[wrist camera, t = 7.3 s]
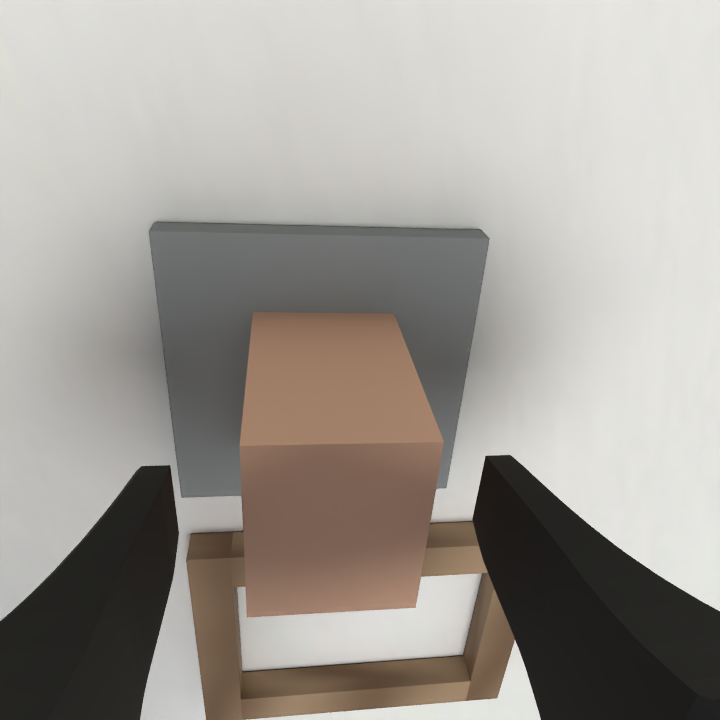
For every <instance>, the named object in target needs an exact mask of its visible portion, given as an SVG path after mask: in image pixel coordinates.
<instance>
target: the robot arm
mask: <svg viewBox="0 0 720 720" xmlns="http://www.w3.org/2000/svg"><path fill="white" fill-rule="evenodd" d="M473 524H474V528H475V532H476V536H477V540H478V544H479V548H480V551H481V555H482V559H483V562H484V564H485V567H486V569H487V572H488V574H489V577H490V579H491V582H492V584H493V587H494V589H495V592H496V594H497V597H498V599H499V601H500V604H501V606H502V609H503V611H504V614H505V616H506V618H507V621H508V623H509V626H510V628H511V631H512V633H513V636H514V638H515V640H516V643H517V645H518V648H519V650H520V653H521V656H522V659H523V661H524V664H525V667H526V670H527V674H528V677H529V680H530V684H531V687H532V690H533V694H534V697H535V700H536V704H537V707H538V710H539V714H540V717H541V720H720V611H718V610H716V609H714V608H712V607H711V606H709V605H707V604H705V603H703V602H701V601H700V600H698V599H696V598H695V597H693V596H691V595H690V594H688V593H686V592H685V591H683V590H681V589H679V588H678V587H676V586H674V585H673V584H671V583H670V582H668V581H666V580H665V579H663V578H662V577H660V576H658V575H657V574H655V573H654V572H652V571H651V570H650V569H648V568H647V567H645V566H644V565H642V564H641V563H639V562H638V561H636V560H635V559H633V558H632V557H631V556H629V555H628V554H626V553H625V552H624V551H622V550H621V549H619V548H618V547H617V546H615V545H614V544H613V543H612V542H610V541H609V540H608V539H606V538H605V537H604V536H603V535H601V534H600V533H599V532H597V531H596V530H595V529H594V528H592V527H591V526H590V525H589V524H588V523H586V522H585V521H584V520H583V519H582V518H580V517H579V516H578V515H577V514H576V513H574V512H573V511H572V510H571V509H570V508H569V507H568V506H566V505H565V504H564V503H563V502H562V501H561V500H560V499H558V498H557V497H556V496H555V495H554V494H553V493H552V492H551V491H550V490H548V489H547V488H546V487H545V486H544V485H543V484H542V483H541V482H540V481H539V480H538V479H536V478H535V477H534V476H533V475H532V474H531V473H530V472H529V471H528V470H527V469H526V468H525V467H523V466H522V465H521V464H520V463H519V462H518V461H517V460H516V459H514V458H513V457H512V456H511V455H499V456H486V457H485V462H484V467H483V472H482V476H481V481H480V486H479V491H478V496H477V500H476V505H475V510H474V515H473ZM178 536H179V531H178V523H177V515H176V507H175V499H174V492H173V484H172V476H171V468H170V465H169V466H141V467H140V468H139V469H138V470H137V471H136V472H135V474H134V475H133V476H132V478H131V479H130V480H129V482H128V483H127V485H126V486H125V487H124V489H123V490H122V491H121V493H120V494H119V495H118V497H117V498H116V499H115V500H114V502H113V503H112V504H111V506H110V507H109V508H108V509H107V511H106V512H105V513H104V514H103V516H102V517H101V518H100V519H99V520H98V522H97V523H96V524H95V525H94V526H93V528H92V529H91V530H90V531H89V532H88V534H87V535H86V536H85V537H84V538H83V540H82V541H81V542H80V543H79V544H78V545H77V546H76V547H75V548H74V550H73V551H72V552H71V553H70V554H69V555H68V556H67V557H66V558H65V559H64V560H63V561H62V563H61V564H60V565H59V566H58V567H57V568H56V569H55V570H54V571H53V572H52V573H51V574H50V575H49V576H48V577H47V578H46V579H45V580H44V581H43V582H42V583H41V584H40V585H39V586H38V587H37V588H36V589H35V590H34V591H33V592H32V593H31V594H30V595H29V596H28V597H27V598H26V599H25V600H24V601H23V602H21V603H20V604H19V605H18V606H17V607H16V608H15V609H14V610H13V611H12V612H11V613H9V614H8V615H7V616H6V617H5V618H4V619H2V620H1V621H0V720H140V715H141V709H142V703H143V697H144V692H145V688H146V683H147V678H148V674H149V670H150V666H151V662H152V658H153V654H154V651H155V647H156V643H157V639H158V635H159V631H160V627H161V623H162V619H163V616H164V612H165V608H166V604H167V600H168V596H169V592H170V588H171V584H172V580H173V574H174V567H175V560H176V552H177V544H178Z"/></svg>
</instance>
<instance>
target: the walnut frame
mask: <svg viewBox="0 0 720 720" xmlns="http://www.w3.org/2000/svg"><path fill="white" fill-rule="evenodd" d="M186 562H187V570H188V578H189V586H190V594H191V602H192V610H193V618H194V626H195V634H196V642H197V650H198V658H199V666H200V674H201V682H202V690H203V698H204V705H205V713H206V720H245V719H257V718H269V717H281V716H293V715H304V714H316V713H328V712H340V711H352V710H363V709H375V708H387V707H399V706H410V705H422V704H434V703H446V702H458V701H469V700H481V699H493V698H497V697H498V694H499V690H500V687H501V684H502V680H503V677H504V674H505V670H506V667H507V664H508V660H509V657H510V654H511V650H512V647H513V644H514V640H515V638H514V636H513V633H512V631H511V628H510V626H509V623H508V621H507V618H506V616H505V614H504V611H503V609H502V606H501V604H500V601H499V599H498V597H497V594H496V592H495V589H494V587H493V584H492V582H491V579H490V577H489V574H488V572H487V569H486V567H485V564H484V562H483V559H482V555H481V551H480V548H479V544H478V540H477V536H476V532H475V528H474V524H473V522H454V523H431V524H430V526H429V532H428V538H427V544H426V550H425V555H424V561H423V567H422V573H421V577H422V576H440V575H458V574H476V573H483V575H482V579H481V583H480V587H479V592H478V596H477V600H476V604H475V608H474V613H473V617H472V621H471V625H470V630H469V634H468V638H467V642H466V646H465V651H464V655H463V656H455V657H442V658H428V659H415V660H401V661H388V662H375V663H361V664H348V665H334V666H321V667H307V668H294V669H281V670H267V671H254V672H242V659H241V644H240V629H239V614H238V599H237V587H242V586H246V581H245V559H244V536H243V532H225V533H202V534H191V537H190V542H189V548H188V553H187V559H186Z"/></svg>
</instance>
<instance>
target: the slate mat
mask: <svg viewBox="0 0 720 720" xmlns="http://www.w3.org/2000/svg"><path fill="white" fill-rule="evenodd" d="M149 236H150V245H151V253H152V261H153V269H154V277H155V286H156V294H157V302H158V310H159V318H160V327H161V335H162V343H163V351H164V359H165V368H166V376H167V384H168V392H169V400H170V409H171V417H172V425H173V433H174V441H175V450H176V458H177V466H178V474H179V482H180V490H181V498H184V497H212V496H240V495H242V491H241V468H240V436H241V426H242V416H243V406H244V396H245V386H246V376H247V366H248V356H249V346H250V336H251V326H252V316H253V312H301V313H391V314H394V315H395V317H396V320H397V323H398V325H399V328H400V330H401V333H402V335H403V338H404V341H405V343H406V346H407V348H408V351H409V353H410V356H411V359H412V361H413V364H414V366H415V369H416V371H417V374H418V377H419V379H420V382H421V384H422V387H423V389H424V392H425V395H426V397H427V400H428V402H429V405H430V407H431V410H432V413H433V415H434V418H435V420H436V423H437V425H438V428H439V431H440V433H441V436H442V438H443V441H444V445H443V450H442V456H441V462H440V468H439V474H438V480H437V485H436V489H437V488H446V487H447V481H448V475H449V470H450V464H451V458H452V452H453V447H454V441H455V435H456V429H457V424H458V418H459V412H460V406H461V401H462V395H463V389H464V383H465V378H466V372H467V366H468V360H469V355H470V349H471V343H472V337H473V331H474V326H475V320H476V314H477V308H478V303H479V297H480V291H481V285H482V280H483V274H484V268H485V262H486V257H487V251H488V245H489V238H488V237H487V236H486V234H485V233H484V232H483V231H482V230H465V229H423V228H381V227H339V226H297V225H255V224H213V223H171V222H155V223H154V224H153V226H152V227H151V229H150V230H149Z"/></svg>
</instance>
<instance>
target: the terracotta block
mask: <svg viewBox="0 0 720 720" xmlns="http://www.w3.org/2000/svg"><path fill="white" fill-rule="evenodd" d="M443 445H444V441H443V438H442V436H441V433H440V431H439V428H438V425H437V423H436V420H435V418H434V415H433V413H432V410H431V407H430V405H429V402H428V400H427V397H426V395H425V392H424V389H423V387H422V384H421V382H420V379H419V377H418V374H417V371H416V369H415V366H414V364H413V361H412V359H411V356H410V353H409V351H408V348H407V346H406V343H405V341H404V338H403V335H402V333H401V330H400V328H399V325H398V323H397V320H396V317H395V315H394V314H391V313H301V312H253V316H252V326H251V336H250V346H249V356H248V366H247V376H246V386H245V396H244V406H243V416H242V426H241V436H240V468H241V491H242V513H243V536H244V559H245V581H246V604H247V617H260V616H278V615H295V614H312V613H330V612H347V611H364V610H381V609H399V608H416V602H417V596H418V590H419V585H420V579H421V573H422V567H423V561H424V555H425V550H426V544H427V538H428V532H429V526H430V520H431V515H432V509H433V503H434V497H435V491H436V485H437V480H438V474H439V468H440V462H441V456H442V450H443Z"/></svg>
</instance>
